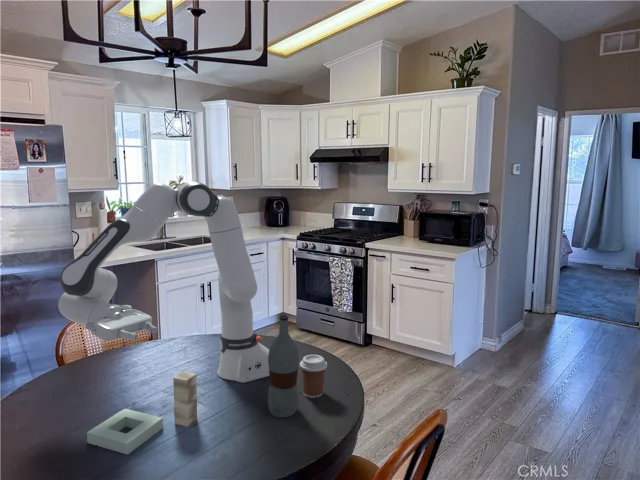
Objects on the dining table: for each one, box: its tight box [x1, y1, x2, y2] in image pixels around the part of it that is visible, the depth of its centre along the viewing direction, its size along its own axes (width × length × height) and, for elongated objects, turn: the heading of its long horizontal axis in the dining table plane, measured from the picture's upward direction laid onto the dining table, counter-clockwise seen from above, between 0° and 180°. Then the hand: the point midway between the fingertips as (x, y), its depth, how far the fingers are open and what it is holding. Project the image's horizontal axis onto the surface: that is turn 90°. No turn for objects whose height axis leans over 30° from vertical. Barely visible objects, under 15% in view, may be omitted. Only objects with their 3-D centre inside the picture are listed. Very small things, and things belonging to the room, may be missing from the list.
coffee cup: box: [299, 354, 328, 399], centre depth 151 cm, size 9×9×12 cm
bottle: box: [267, 314, 300, 419], centre depth 138 cm, size 9×9×30 cm
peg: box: [172, 371, 198, 428], centre depth 132 cm, size 4×4×14 cm
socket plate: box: [86, 408, 164, 456], centre depth 126 cm, size 14×14×3 cm
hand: (145, 334), depth 136 cm, fingers open, 8 cm apart
